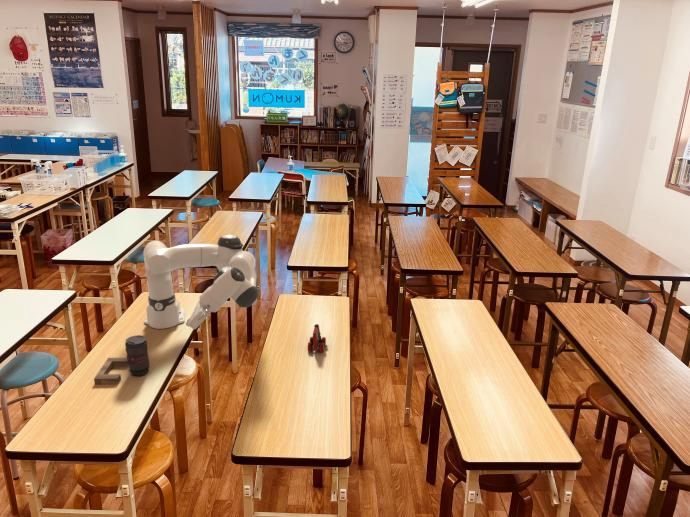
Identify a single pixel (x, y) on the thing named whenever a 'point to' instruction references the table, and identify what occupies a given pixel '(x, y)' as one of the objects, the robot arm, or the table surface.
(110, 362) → the lens cradle
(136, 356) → the camera lens
